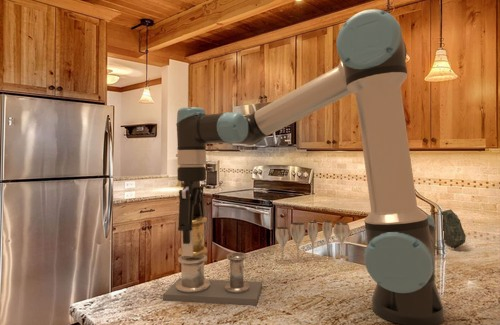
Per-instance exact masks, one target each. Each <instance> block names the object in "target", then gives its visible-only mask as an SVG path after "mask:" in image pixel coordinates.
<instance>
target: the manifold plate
mask: <svg viewBox="0 0 500 325" xmlns="http://www.w3.org/2000/svg"><path fill="white" fill-rule="evenodd" d="M205 279H206V278H205ZM181 280H182V277H180V278H178V279H177V280H176V281H175V282H174V283H173V284H172V285H170V286H169V288H168V289H166V290H165V292H163V293H162V300H163V301H170V302H171V301H175V302H193V303H206V304H207V303H208V304H211V303H212V304H226V305H227V304H228V305H242V306H243V305H245V306H257V305H258V301H259V298H260V296H261V292H262V290H263V281H253V280H251V281H245V280H244V282H245V283H247V284H248V285H249V290H248V291H247V292H244V293H239V294H233V293H228V292H226V291H225V285H226V284H227V283H230V279H227V280H225V279H206V280H208V281H209V282H210V287H209V288H208V289H207V290H205V291H202V292H198V293H182V292H179V291H177V290H176V284H177V283H178V282H179V281H181Z"/></svg>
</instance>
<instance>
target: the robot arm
mask: <svg viewBox="0 0 500 325" xmlns="http://www.w3.org/2000/svg"><path fill="white" fill-rule="evenodd" d="M404 40H405V39H404V37H403V34H402V27H401V25H400V22H398V21H397V19H396V18H395V17H394V16H393V15H392V14H391V13H389V12H387V11H385V10H382V9H378V8H371V9H370V8H369V9H364V10H362V11H359V12H357V13H356V14H354V15H352V16H351V17H350V18H348V19H347V20H346V21H345V23H344V24H343V26H342V27H341V28H340V30H339V32H338V34H337V37H336V43H335V44H336V51H337V52H336V53H337V55H338V57H339V60H340V62H339V64H338V65H337V66H336V67H334V68H332V69H330V70H329V71H327V72H324V73H323V74H321V75H319V76H318V77H316V78H313V79H312V80H310V81H309V82H307V83H305V84H303V85H301V86H300V87H298V88H296V89H294V90H292V91H290V92H288V93H286V94H285V95H283V96H281V97H280V98H278V99H276V100H273V101H271V102H270V103H269V104H266V105H265V106H263V107H261V108H260V109H257V110H256V111H253V112H252V113H250V114H248V115H246V116H245V115H244V114H243V113H241V112H239V111H238V112H233V111H232V112H231V111H227V112H223V113H211V114H206V110H205V109H204V108H203V107H199V106H198V107H197V106H191V107H189V106H186V107H181V108H179V109H178V111H177V115H176V116H177V117H176V124H175V125H176V135H177V136H176V137H177V138H176V139H177V148H176V149H177V150H176V151H177V153H176V154H175V157H176V158H177V165H178V166H179V167H177V181H178V182H183V188H182V189H179V191H178V195H179V196H178V197H179V205H178V219H179V223H178V228H177V230H178V231H180V232H181V231H182V256H193V230H192V220H193V216H201V217H205V204H204V203H205V202H204V185H201V183H200V182H204V181H206V179H207V168H206V166H205V165H206V164H207V152H206V151H207V149H206V146H207V144H233V145H234V144H236V145H247V146H254V145H258V144H260V143H262V142H264V140H265V138H266V137H267V136H269V135H271V134H273V133H275V132H277V131H279V130H281V129H283V128H286V127H287V126H289V125H291V124H294V123H296V122H298V121H300V120H301V119H303V118H305V117H308V116H309V115H312V114H313V113H315V112H317V111H320V110H321V109H324V108H326V107H327V106H329V105H331V104H334V103H336V102H337V101H339V100H341V99H343V98H346V97H347V96H350V95H352V94H353V95H355V100H356V107H357V115H358V122H359V131H360V137H361V138H360V139H361V143H362V144H361V145H362V151H363V153H362V154H363V159H364V160H363V161H364V166H365V176H366V183H367V190H368V197H369V204H370V213H369V214H368V215H367V216H366V217H365V218H364V226H365V234H366V235H365V236H366V243H367V245H366V247H365V251H364V264H365V268H366V271H367V273H368V274H369V276H370V277H371V279H372V280H373V281H374V282H375V283H376V285H375V288H374V292H373V294H372V297H371V298H372V299H371V309H372V311H373V312H374V313H375V314H376V315H378V316H379V317H380V318H382V319H384V320H387V321H389V322H392V323H395V324H399V325H439V324H441V323H442V322H443V321H444V313H445V311H444V306H443V303H442V299H441V297H440V294H439V291H438V288H437V286H436V282H435V281H436V278H435V277H436V276H435V274H436V273H435V272H436V270H435V269H436V268H435V267H436V264H435V263H436V260H435V259H436V257H435V256H436V254H435V253H436V252H435V250H436V248H435V246H436V244H435V243H436V238H435V237H436V232H435V231H436V228H437V227H436V225H435V218H434V217H433V215H430V214H427V213H425V212H423V211H422V210H421V209H420V208H419V207H418V202H417V196H416V195H417V194H416V189H415V188H416V186H415V182H414V174H413V167H412V160H411V151H410V145H409V139H408V138H409V137H408V131H407V123H406V118H405V109H404V102H403V101H404V100H403V95H402V85H403V83H405V81H406V80H407V78H408V70H407V61H406V59H407V44H406V43H405V41H404ZM205 224H206V222H205V223H204V225H205Z"/></svg>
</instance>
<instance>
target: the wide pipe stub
mask: <svg viewBox="0 0 500 325" xmlns="http://www.w3.org/2000/svg"><path fill="white" fill-rule="evenodd" d="M177 258H178V260H177V261H178V263H179V264H181V265H180V266H181V268H180V269H181V270H180V272H181V278H182V280H181V281H179V282H178V283H177V284H176V290H177V291H179V292H182V293H198V292H202V291H205V290H207V289H208V288H209V287H210V282H209V281H208V280H209V279H208V280H206V278H205V262H207V261H208V256H207V254H206V253H205V254H202V255H198V256H182V255H180V256H178V257H177Z"/></svg>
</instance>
